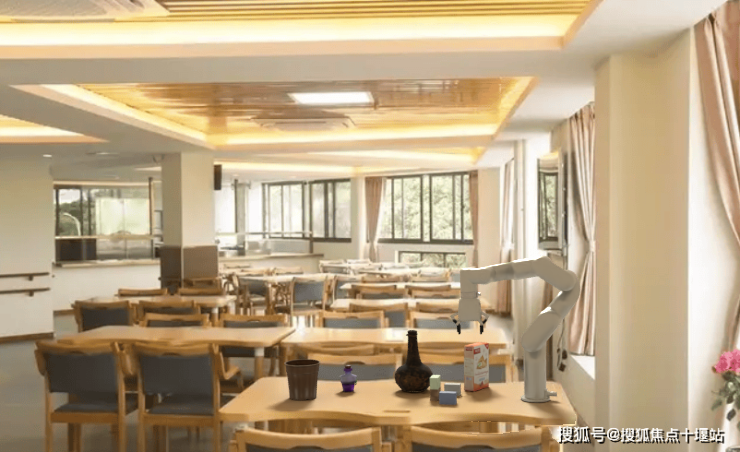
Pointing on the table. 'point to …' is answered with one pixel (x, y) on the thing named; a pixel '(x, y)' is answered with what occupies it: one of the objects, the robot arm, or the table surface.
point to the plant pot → (302, 378)
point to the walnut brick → (434, 394)
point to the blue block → (448, 397)
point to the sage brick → (435, 382)
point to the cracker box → (476, 366)
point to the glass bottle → (413, 368)
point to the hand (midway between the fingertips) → (470, 333)
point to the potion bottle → (348, 379)
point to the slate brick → (453, 387)
